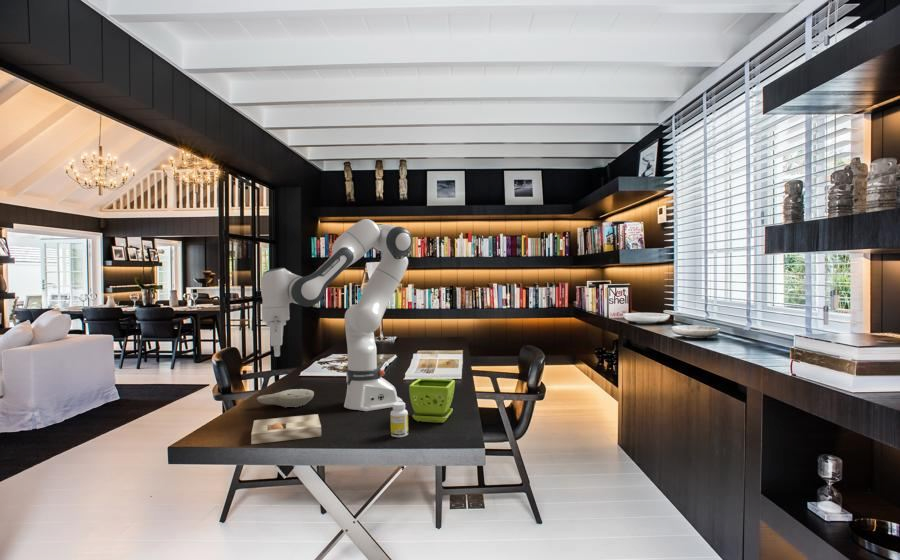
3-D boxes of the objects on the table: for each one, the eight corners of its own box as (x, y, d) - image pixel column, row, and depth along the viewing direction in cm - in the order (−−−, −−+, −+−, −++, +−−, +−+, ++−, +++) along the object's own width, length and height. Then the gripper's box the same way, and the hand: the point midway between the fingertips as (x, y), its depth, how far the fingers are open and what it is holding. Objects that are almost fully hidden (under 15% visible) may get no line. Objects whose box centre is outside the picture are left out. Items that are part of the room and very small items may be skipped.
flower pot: (448, 425, 157) (448, 387, 157) (407, 423, 160) (407, 385, 160) (456, 414, 171) (456, 378, 171) (418, 412, 173) (418, 377, 173)
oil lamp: (256, 414, 173) (256, 400, 173) (256, 404, 187) (256, 392, 187) (315, 408, 181) (315, 394, 181) (312, 399, 195) (312, 387, 195)
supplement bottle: (399, 431, 152) (399, 400, 152) (411, 434, 148) (411, 402, 148) (387, 435, 147) (386, 403, 147) (399, 438, 144) (399, 406, 144)
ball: (283, 431, 146) (283, 438, 148) (283, 419, 149) (283, 426, 151) (269, 432, 144) (269, 439, 147) (269, 421, 147) (269, 428, 150)
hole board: (317, 422, 161) (317, 414, 161) (321, 436, 147) (321, 426, 147) (254, 429, 155) (254, 420, 155) (251, 444, 141) (251, 434, 141)
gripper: (285, 317, 153) (287, 359, 153) (285, 313, 173) (286, 351, 173) (264, 318, 151) (266, 361, 151) (266, 314, 171) (268, 352, 171)
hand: (277, 356), depth 162 cm, fingers closed
